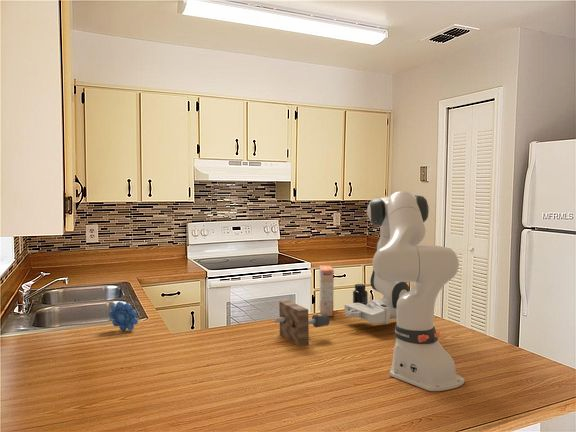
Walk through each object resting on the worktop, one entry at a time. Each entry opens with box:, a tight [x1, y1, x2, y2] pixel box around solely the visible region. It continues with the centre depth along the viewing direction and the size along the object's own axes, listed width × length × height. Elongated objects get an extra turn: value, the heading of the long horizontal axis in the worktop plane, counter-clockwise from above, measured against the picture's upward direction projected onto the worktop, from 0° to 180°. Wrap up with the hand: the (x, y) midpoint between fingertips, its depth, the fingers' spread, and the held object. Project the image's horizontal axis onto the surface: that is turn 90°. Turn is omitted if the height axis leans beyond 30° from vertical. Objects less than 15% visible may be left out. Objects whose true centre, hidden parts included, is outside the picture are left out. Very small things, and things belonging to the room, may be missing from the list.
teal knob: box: [274, 316, 286, 324], centre depth 181 cm, size 5×13×5 cm, turn 117°
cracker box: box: [319, 265, 335, 317], centre depth 215 cm, size 14×6×21 cm, turn 179°
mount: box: [278, 300, 310, 347], centre depth 177 cm, size 16×4×13 cm, turn 27°
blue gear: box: [108, 301, 139, 332], centre depth 189 cm, size 12×7×12 cm, turn 91°
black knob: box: [295, 313, 330, 328], centre depth 176 cm, size 5×13×5 cm, turn 117°
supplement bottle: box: [352, 283, 369, 305], centre depth 219 cm, size 7×7×12 cm
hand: (347, 314), depth 187 cm, fingers closed
